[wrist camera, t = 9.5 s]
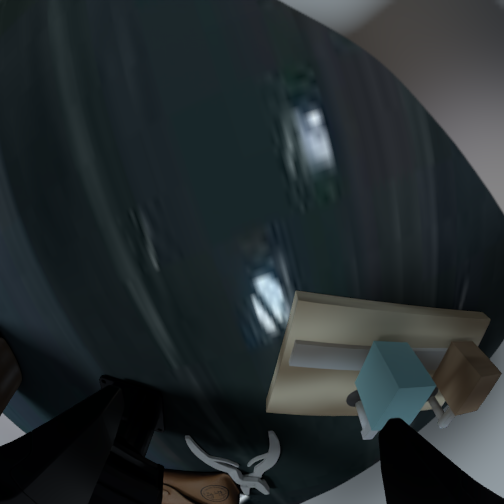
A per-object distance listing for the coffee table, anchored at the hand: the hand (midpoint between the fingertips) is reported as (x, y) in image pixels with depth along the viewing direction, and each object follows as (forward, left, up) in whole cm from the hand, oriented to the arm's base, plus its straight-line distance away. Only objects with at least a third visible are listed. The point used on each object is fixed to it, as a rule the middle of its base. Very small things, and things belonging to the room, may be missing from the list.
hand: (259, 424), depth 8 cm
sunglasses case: (-33, +7, -12) cm, 36 cm away
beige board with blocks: (-6, -12, -12) cm, 18 cm away
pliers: (-25, -2, -13) cm, 28 cm away
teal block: (-6, -10, -10) cm, 15 cm away
